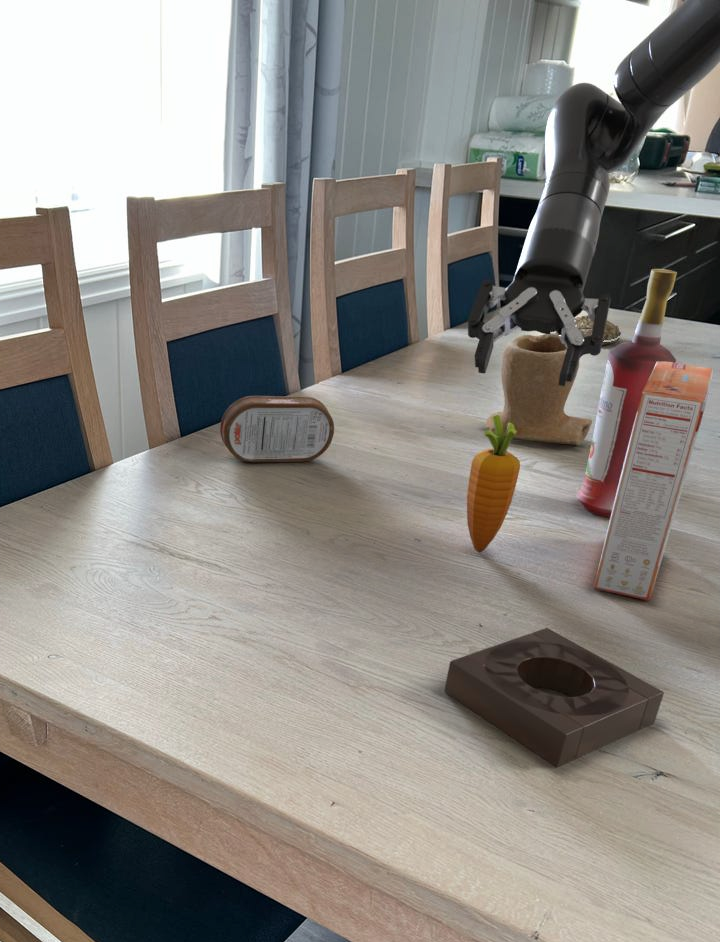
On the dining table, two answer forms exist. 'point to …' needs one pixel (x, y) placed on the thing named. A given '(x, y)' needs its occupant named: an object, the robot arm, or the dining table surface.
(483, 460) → the carrot
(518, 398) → the stone cup
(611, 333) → the brown shell
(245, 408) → the tin
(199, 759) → the dining table surface
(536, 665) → the socket pad
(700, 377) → the cracker box
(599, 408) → the liquor
